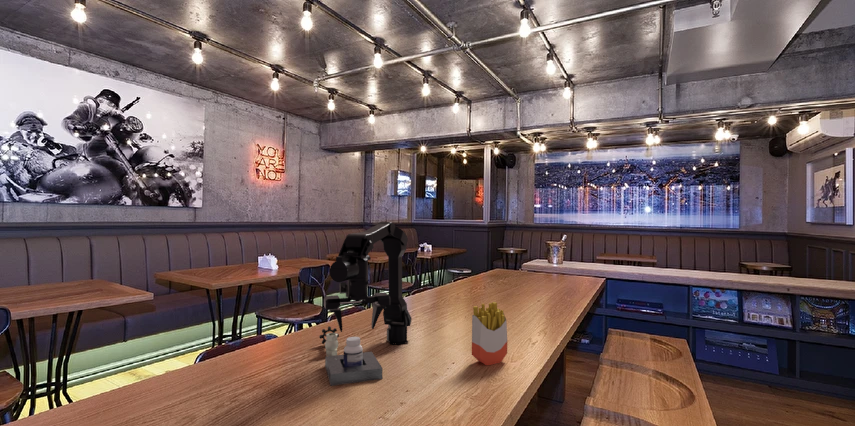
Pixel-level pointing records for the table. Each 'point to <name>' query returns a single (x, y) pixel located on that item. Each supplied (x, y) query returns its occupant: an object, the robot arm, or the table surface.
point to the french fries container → (489, 334)
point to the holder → (352, 369)
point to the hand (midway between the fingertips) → (357, 330)
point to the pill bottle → (352, 352)
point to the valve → (330, 341)
